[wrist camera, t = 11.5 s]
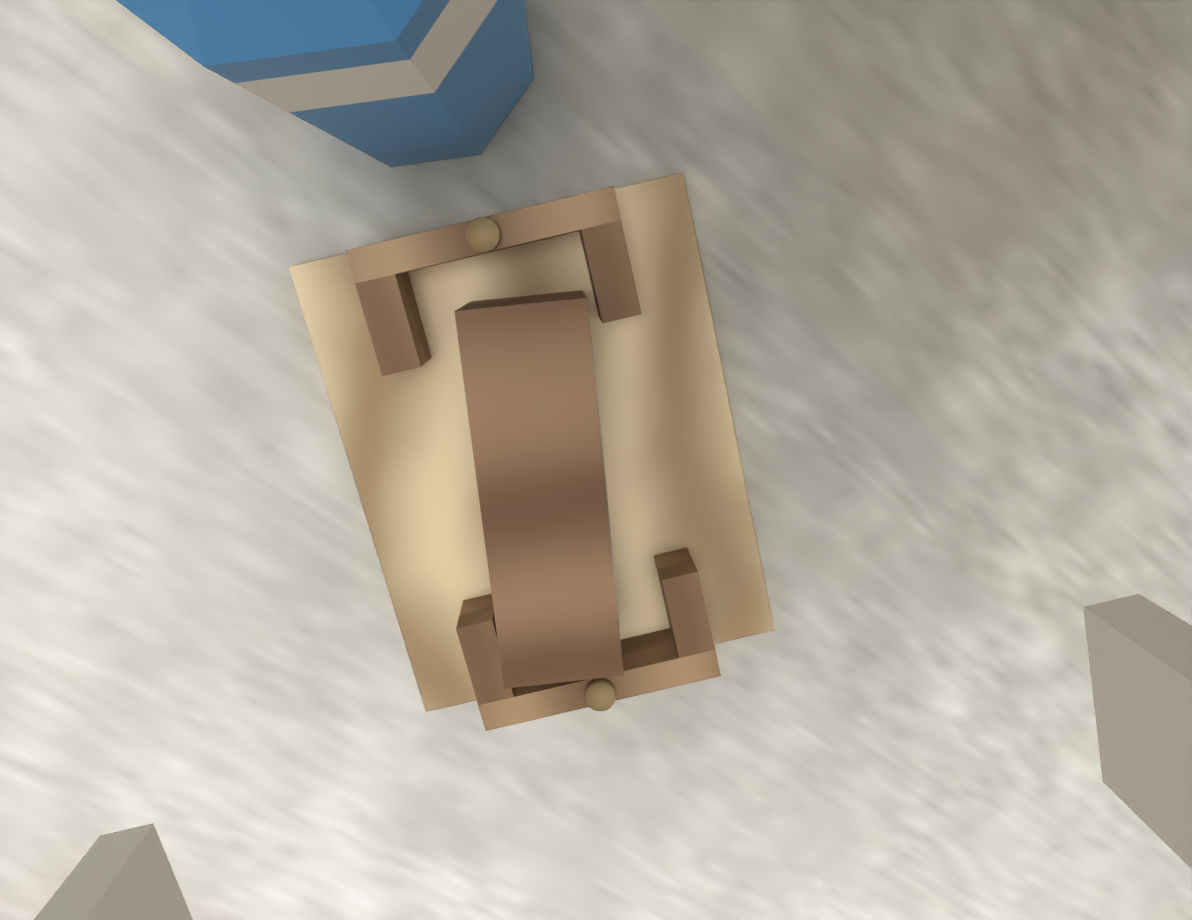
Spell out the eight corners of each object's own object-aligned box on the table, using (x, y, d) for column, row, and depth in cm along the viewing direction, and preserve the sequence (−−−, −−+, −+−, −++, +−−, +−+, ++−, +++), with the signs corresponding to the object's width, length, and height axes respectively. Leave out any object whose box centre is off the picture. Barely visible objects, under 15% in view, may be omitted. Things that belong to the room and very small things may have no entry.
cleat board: (679, 174, 36) (697, 163, 31) (768, 621, 41) (795, 666, 36) (295, 266, 36) (259, 269, 32) (429, 701, 41) (413, 756, 36)
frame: (469, 301, 36) (452, 311, 30) (583, 290, 36) (588, 297, 30) (510, 623, 39) (502, 688, 33) (614, 612, 39) (625, 675, 33)
